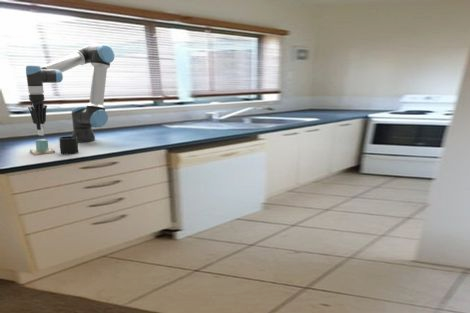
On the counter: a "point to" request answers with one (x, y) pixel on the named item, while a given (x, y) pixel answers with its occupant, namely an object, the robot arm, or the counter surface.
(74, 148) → the mug
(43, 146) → the cap
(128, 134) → the counter surface
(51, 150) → the post block
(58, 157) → the counter surface
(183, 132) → the counter surface
